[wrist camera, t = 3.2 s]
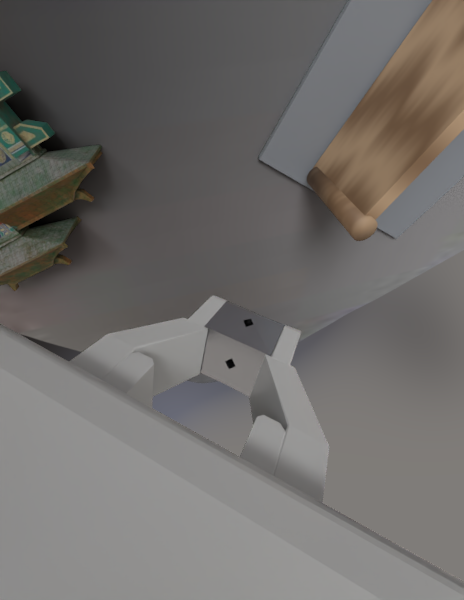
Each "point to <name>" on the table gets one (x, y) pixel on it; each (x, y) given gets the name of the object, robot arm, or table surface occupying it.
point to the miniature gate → (35, 192)
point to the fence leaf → (397, 123)
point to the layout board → (347, 95)
